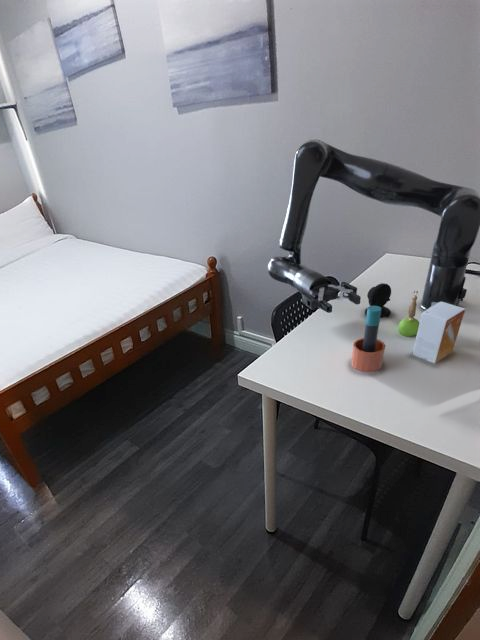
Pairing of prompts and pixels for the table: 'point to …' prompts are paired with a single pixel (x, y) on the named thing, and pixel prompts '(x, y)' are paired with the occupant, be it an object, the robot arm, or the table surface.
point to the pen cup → (367, 356)
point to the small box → (438, 331)
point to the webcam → (380, 298)
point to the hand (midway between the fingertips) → (345, 305)
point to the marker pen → (371, 328)
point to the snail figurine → (410, 320)
